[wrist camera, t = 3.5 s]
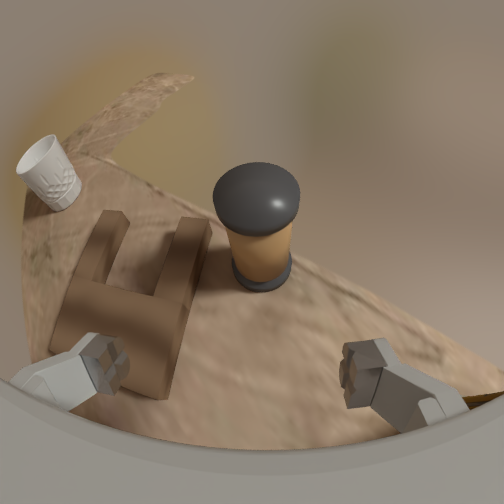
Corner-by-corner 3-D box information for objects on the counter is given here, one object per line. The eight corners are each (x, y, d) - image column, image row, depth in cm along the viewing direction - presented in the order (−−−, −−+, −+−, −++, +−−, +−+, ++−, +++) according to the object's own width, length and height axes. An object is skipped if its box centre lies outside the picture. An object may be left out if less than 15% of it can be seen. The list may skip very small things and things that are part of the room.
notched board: (167, 399, 21) (157, 400, 19) (62, 354, 23) (49, 349, 21) (212, 232, 30) (207, 219, 27) (112, 221, 32) (103, 209, 30)
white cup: (42, 211, 35) (9, 173, 26) (66, 175, 38) (39, 135, 29) (66, 218, 33) (29, 174, 24) (93, 178, 37) (64, 132, 28)
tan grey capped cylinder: (286, 296, 26) (295, 233, 16) (227, 287, 26) (202, 222, 17) (295, 234, 29) (304, 156, 19) (242, 227, 30) (228, 149, 20)
